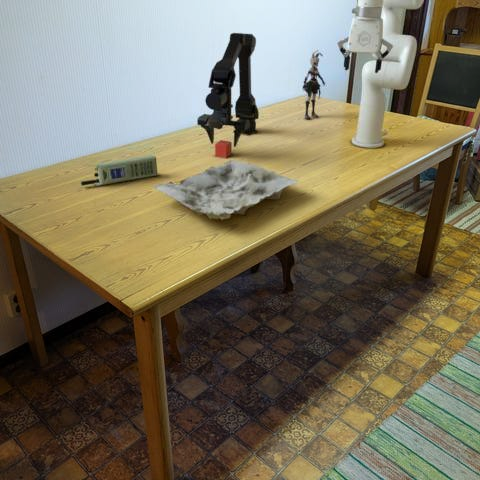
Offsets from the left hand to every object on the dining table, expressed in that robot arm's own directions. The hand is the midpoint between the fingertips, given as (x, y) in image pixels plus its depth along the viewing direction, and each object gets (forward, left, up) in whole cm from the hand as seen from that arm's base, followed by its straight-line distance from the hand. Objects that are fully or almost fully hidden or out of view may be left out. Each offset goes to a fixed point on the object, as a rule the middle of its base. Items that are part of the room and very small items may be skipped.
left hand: (223, 145), depth 187 cm
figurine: (0, +64, -4) cm, 64 cm away
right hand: (+43, +18, +29) cm, 55 cm away
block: (0, 0, -4) cm, 4 cm away
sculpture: (+25, -31, -4) cm, 40 cm away
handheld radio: (-11, -41, -4) cm, 42 cm away
